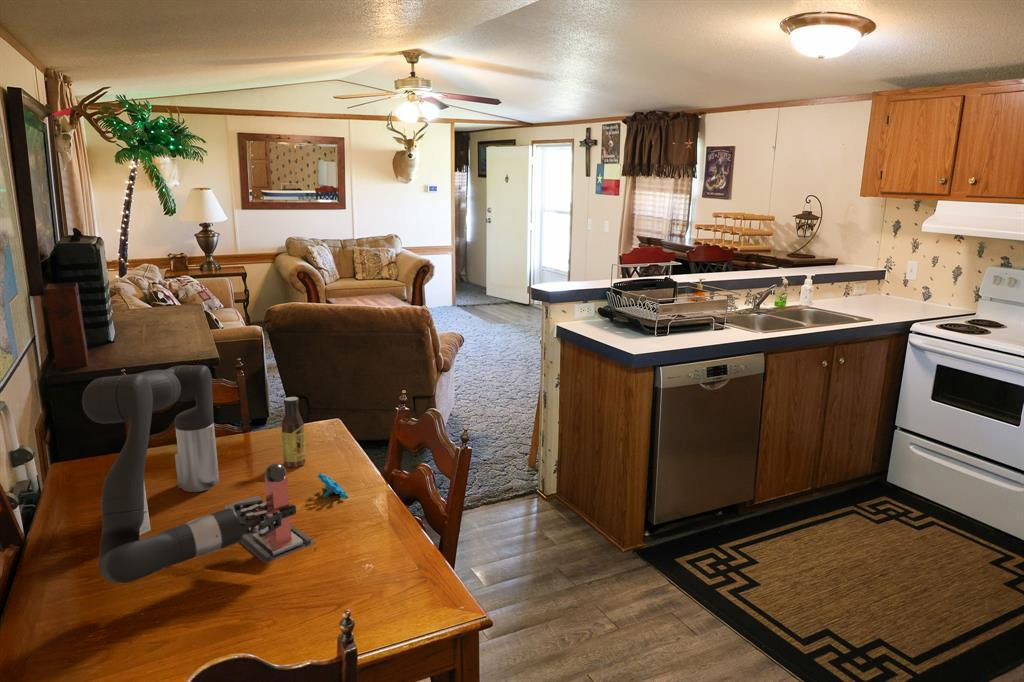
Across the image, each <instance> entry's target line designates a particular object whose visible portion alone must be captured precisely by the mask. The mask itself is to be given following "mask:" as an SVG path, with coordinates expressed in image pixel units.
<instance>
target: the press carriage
mask: <svg viewBox="0 0 1024 682" xmlns="http://www.w3.org/2000/svg"><path fill="white" fill-rule="evenodd" d="M288 479H289V478H288V477H287V469H286V466H285V465H284V464H281V463H278V462H277V463H276V462H275V463H271V464H269V465H268V467H266V470H265V471H264V486H265V487H264V489H265V502H267V511H268V512H269V511H274V510H278V509H280V508H283V507H286V506H289V505H290V495H289V494H290V493H289V482H288V481H289V480H288ZM272 516H274V515H272ZM272 516H270V517H269V518H271V517H272ZM263 522H264V521H263ZM281 523H282V525H281V526H280V527H278V528H277V529H275V530H273V531H272V532H270V533H269V534H267V535H266V536H264V537H259V533H258V532H256V533H255V534H253V535H252V538H253V539H254V540H255V541H256V542H257V543H258V544H260V545H261V546H262V547H263V548H264V549H265V550H267V551H268V552H269V553H270V554H271V555H273V556H274V555H277V554H279V553H282V552H285V551H287V550H290V549H292V548H295V547H297V546H300V545H302V544H303V540H302V539H301V538H299V537H298V536H297V535H295V534H294V533H293V532H291V524H292V523H291V516H289V517H286V518H283V519H281ZM274 524H275V523H274Z"/></svg>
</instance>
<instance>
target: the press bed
mask: <svg viewBox="0 0 1024 682" xmlns="http://www.w3.org/2000/svg"><path fill="white" fill-rule="evenodd" d="M257 500H262V501H263V503H264V502H266V500H265V501H264V500H263V498H262V497H260V496H259V495H254V496H250V497H249V498H245V499H241V500H238V501H235V502H233V503H229V504H227V505H224V509H227V508H231V509H233V510H234V505H235V504H239V503H245V502H251V501H257ZM263 521H265V518H264V516H263ZM291 532H293V533H294V534H295V535H297V536H298V537H299V538H301V539H302V540H303V544H302V545H300V546H297V547H295V548H292V549H290V550H287V551H285V552H282V553H279V554H277V555H274V556H273V555H271V554H270V553H269V552H268V551H267V550H265V549H264V548H263V547H262V546H261V545H260V544H258V543H257V542H256V541H255V540H254V539H253V538H252V535H253V534H255V533H256V532H253V533H249V534H244V535H243V536H242V538H241V540H240V542H239V543H240V544H242V545H243V546H244V547H245V548H246V549H247V550H248V551H249V552H251V554H253V555H254V556H255V557H256V558H258V559H259V560H260V562H262V563H263V564H267V563H270V562H273V561H275V560H277V559H280V558H283V557H284V556H288V555H290V554H292V553H295V552H297V551H299V550H303V549H305V548H308V547H310V546H312V545H315V544H316V542H315V541H314V540H313V539H311V538H310V536H308V535H307V534H305V533H304V532H302V531H301V530H300V529H298V528H297V527H296V526H294V525H293V524H292V523H291ZM313 550H314V551H315V550H317V547H315V548H314V549H313Z"/></svg>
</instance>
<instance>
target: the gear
mask: <svg viewBox="0 0 1024 682" xmlns="http://www.w3.org/2000/svg"><path fill="white" fill-rule="evenodd" d="M317 478H319V479H320V482H322V483H323V484H324V488H323V490H326V492H325V493H324V494H323V496H322V497H323V498H328V497H329V496H330V495H332V494H333V493H335V494H336V495H339V497H341V498H342V499H348V498H349V495H348V494H347V493H346V492H345V490H344V489H343V488H342V486H341V485H339V483H337V482H336V481H334V480H333V479H332V477H330V476H327V475H326V474H323V473H322V472H319V473H318V474H317Z"/></svg>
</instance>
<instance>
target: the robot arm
mask: <svg viewBox="0 0 1024 682" xmlns="http://www.w3.org/2000/svg"><path fill="white" fill-rule="evenodd" d="M212 380H213V378H212V372H211V370H210V369H209V367H208V366H206V365H204V364H203V365H199V364H198V365H175V366H172V367H171V366H170V367H169V368H167V369H154V370H153V369H152V370H147V371H143V372H139V373H134V374H133V373H132V374H124V375H113V376H103V377H99V378H95V379H93V380H92V381H91V382H90V383H89V384H88V385H87V386H86V387H85V389H84V391H83V393H82V398H81V404H82V410H83V411H84V413H85V415H86V417H88V418H89V419H90V420H91V421H93V422H95V423H98V424H102V425H103V424H104V425H105V424H117V423H125V422H128V431H127V436H126V439H125V443H124V444H123V447H122V449H121V450H120V453H119V454H118V456H117V457H116V459H115V461H114V463H113V464H112V466H111V468H110V469H109V471H108V473H107V474H106V477H105V479H104V482H103V485H102V489H101V523H102V525H101V526H102V527H101V528H102V530H101V534H100V535H101V536H100V543H99V549H98V550H99V551H98V568H99V572H100V574H101V576H102V578H103V579H105V580H106V581H107V582H110V583H113V584H127V583H132V582H134V581H137V580H140V579H143V578H145V577H148V576H150V575H152V574H155V573H157V572H158V571H161V570H162V569H164V568H167V567H170V566H173V565H177V564H180V563H183V562H186V561H188V560H191V559H194V558H196V557H197V558H198V557H202V556H206V555H208V554H209V555H210V554H211V553H214V552H217V551H220V550H222V549H225V548H228V547H230V546H233V545H236V544H238V543H240V540H241V538H242V536H243V535H244V534H249V533H253V532H258V533H259V537H264V536H266V535H267V534H269V533H270V532H272V531H273V530H275V529H277V528H278V527H280V526H281V525H282V523H281V519H283V518H286V517H289V516H290V517H291V516H295V515H296V514H297V507H296V505H295V504H289V506H286V507H283V508H280V509H278V510H274V511H269V512H268V511H267V502H266V501H265V502H264V500H263V501H262V500H257V501H251V502H245V503H239V504H235V505H234V510H233V509H231V508H227V509H225V508H224V509H221V510H218V511H215V512H212V513H209V514H207V515H203V516H199V517H197V518H195V519H192V520H190V521H188V522H186V523H182V524H179V525H177V526H173V527H171V528H167V529H165V530H163V531H161V532H159V533H157V534H156V535H155V534H154V535H151V536H149V537H145V538H141V539H140V537H141V535H140V527H141V525H142V523H143V520H144V511H143V510H144V485H145V470H146V469H145V468H146V460H147V454H148V447H149V446H148V445H149V439H150V432H151V424H152V417H153V412H157V411H161V410H165V409H167V408H169V407H170V406H172V405H174V404H175V403H176V402H196V403H195V404H196V405H195V406H193V407H192V408H189V409H187V410H184V411H182V412H179V413H178V414H176V416H175V417H174V427H175V436H176V444H177V446H176V447H177V452H176V453H175V455H174V460H175V471H176V478H177V487H178V488H179V489H182V490H183V491H185V492H189V493H199V492H205V491H207V490H211V489H212V488H213V487H215V486H216V485H217V484H219V483H220V478H219V477H220V476H219V463H218V456H217V455H218V453H217V443H216V435H215V434H216V432H215V423H214V420H215V419H214V405H213V404H214V403H213V381H212ZM263 502H264V503H263ZM272 515H274V516H272ZM263 516H264V518H265V521H264V522H263ZM270 516H272V517H271V518H269V517H270ZM274 523H275V524H274Z"/></svg>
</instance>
